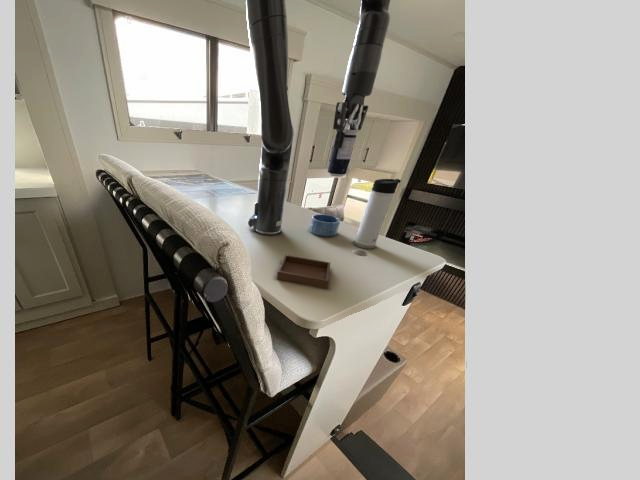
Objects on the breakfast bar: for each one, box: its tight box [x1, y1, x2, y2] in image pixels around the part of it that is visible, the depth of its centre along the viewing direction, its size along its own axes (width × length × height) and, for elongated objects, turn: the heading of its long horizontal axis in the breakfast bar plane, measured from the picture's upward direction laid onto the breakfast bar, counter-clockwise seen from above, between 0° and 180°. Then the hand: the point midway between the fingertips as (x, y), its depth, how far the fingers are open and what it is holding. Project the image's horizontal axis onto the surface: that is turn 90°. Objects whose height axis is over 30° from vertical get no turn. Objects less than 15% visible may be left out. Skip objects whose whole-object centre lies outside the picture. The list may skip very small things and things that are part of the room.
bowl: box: [309, 213, 341, 237], centre depth 89 cm, size 9×9×5 cm
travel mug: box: [353, 178, 402, 250], centre depth 76 cm, size 6×7×20 cm
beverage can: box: [327, 128, 357, 178], centre depth 75 cm, size 6×6×12 cm
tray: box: [276, 254, 331, 289], centre depth 65 cm, size 12×10×2 cm
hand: (342, 147), depth 75 cm, fingers closed on beverage can, 5 cm apart
